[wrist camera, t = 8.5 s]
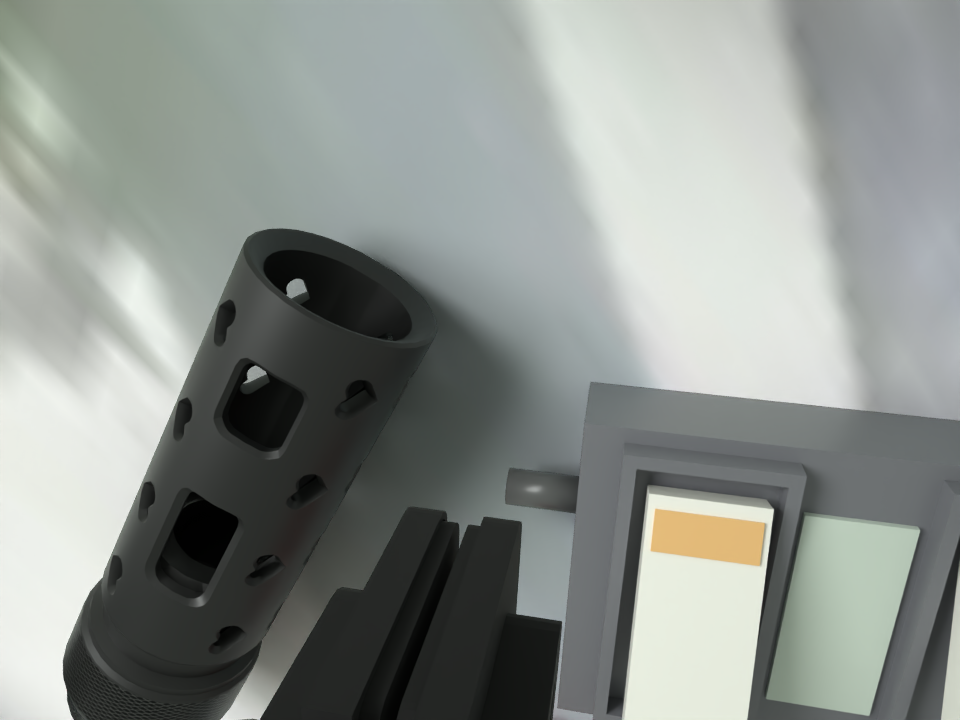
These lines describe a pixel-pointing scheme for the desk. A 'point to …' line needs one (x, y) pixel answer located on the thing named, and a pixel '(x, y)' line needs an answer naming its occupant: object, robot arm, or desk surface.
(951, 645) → the rocker
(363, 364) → the muzzle brake
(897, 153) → the desk surface
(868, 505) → the panel
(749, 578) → the plate
